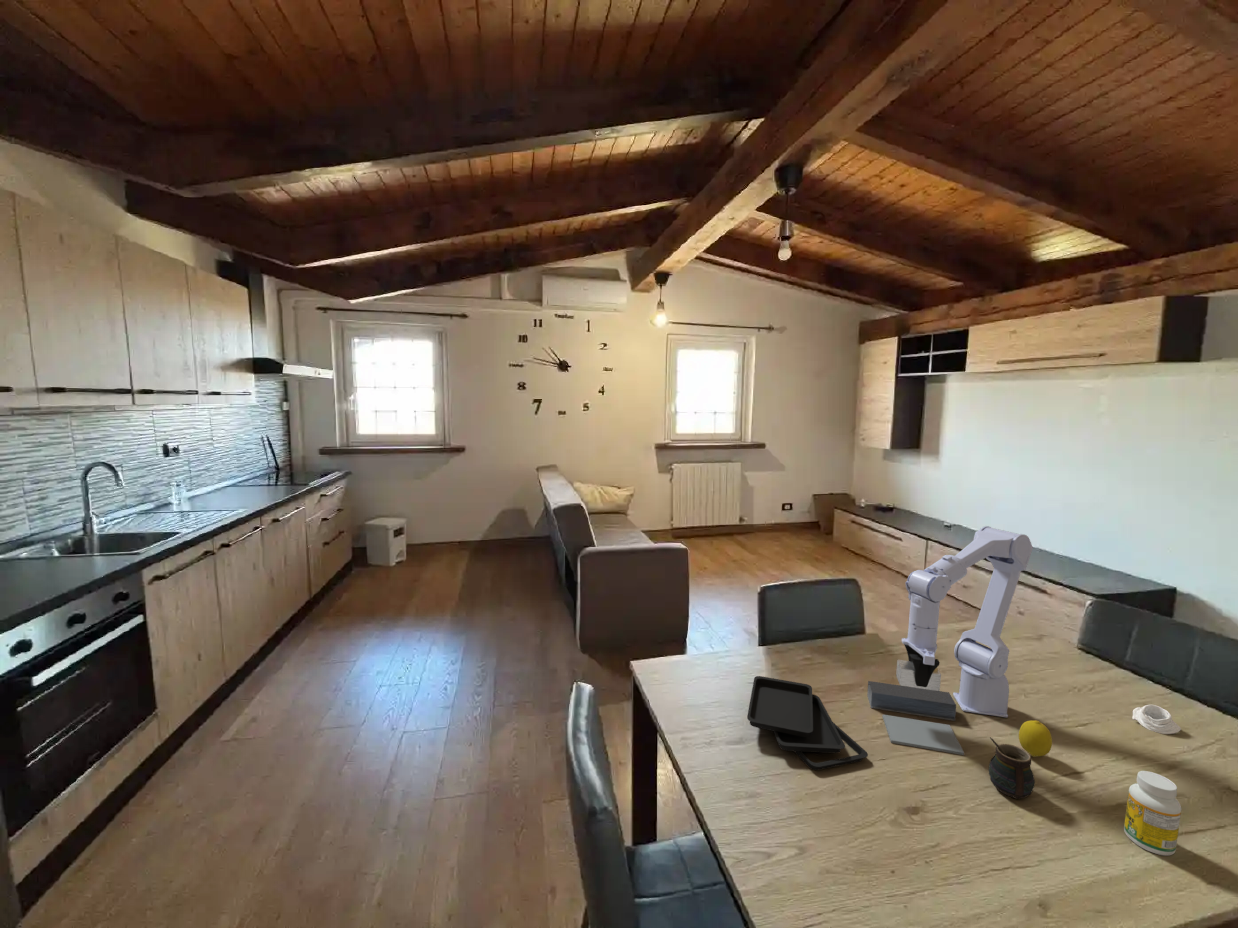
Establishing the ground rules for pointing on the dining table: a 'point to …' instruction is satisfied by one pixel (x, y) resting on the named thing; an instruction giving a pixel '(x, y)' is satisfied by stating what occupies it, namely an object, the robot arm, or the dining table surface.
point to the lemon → (1035, 738)
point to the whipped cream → (1155, 719)
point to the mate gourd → (1011, 771)
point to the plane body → (911, 700)
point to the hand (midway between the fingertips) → (918, 679)
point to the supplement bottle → (1153, 813)
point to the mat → (922, 734)
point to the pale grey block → (908, 677)
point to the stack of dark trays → (798, 721)
